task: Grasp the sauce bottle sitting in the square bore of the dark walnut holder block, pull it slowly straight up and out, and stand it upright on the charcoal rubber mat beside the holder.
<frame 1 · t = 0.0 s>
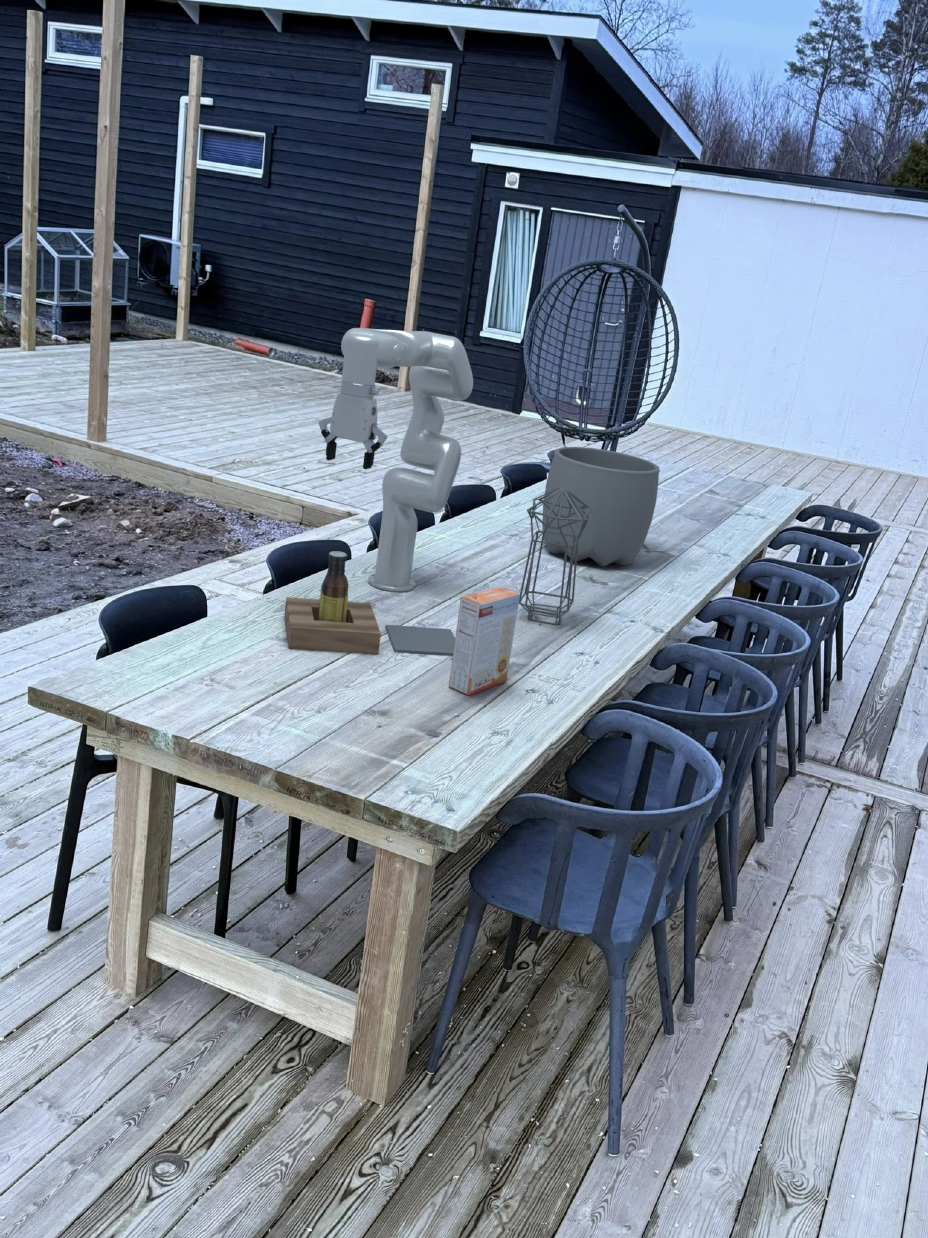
hand: (348, 463, 261), 37 cm above the table, tool pointing down, fingers open, 9 cm apart
cracker box: (476, 685, 245), on the table
sauce bottle: (329, 636, 260), resting in holder block
holder block: (330, 635, 260), on the table
geometric lantern: (540, 618, 294), on the table
rubber mat: (423, 641, 265), on the table
planter pot: (588, 556, 360), on the table
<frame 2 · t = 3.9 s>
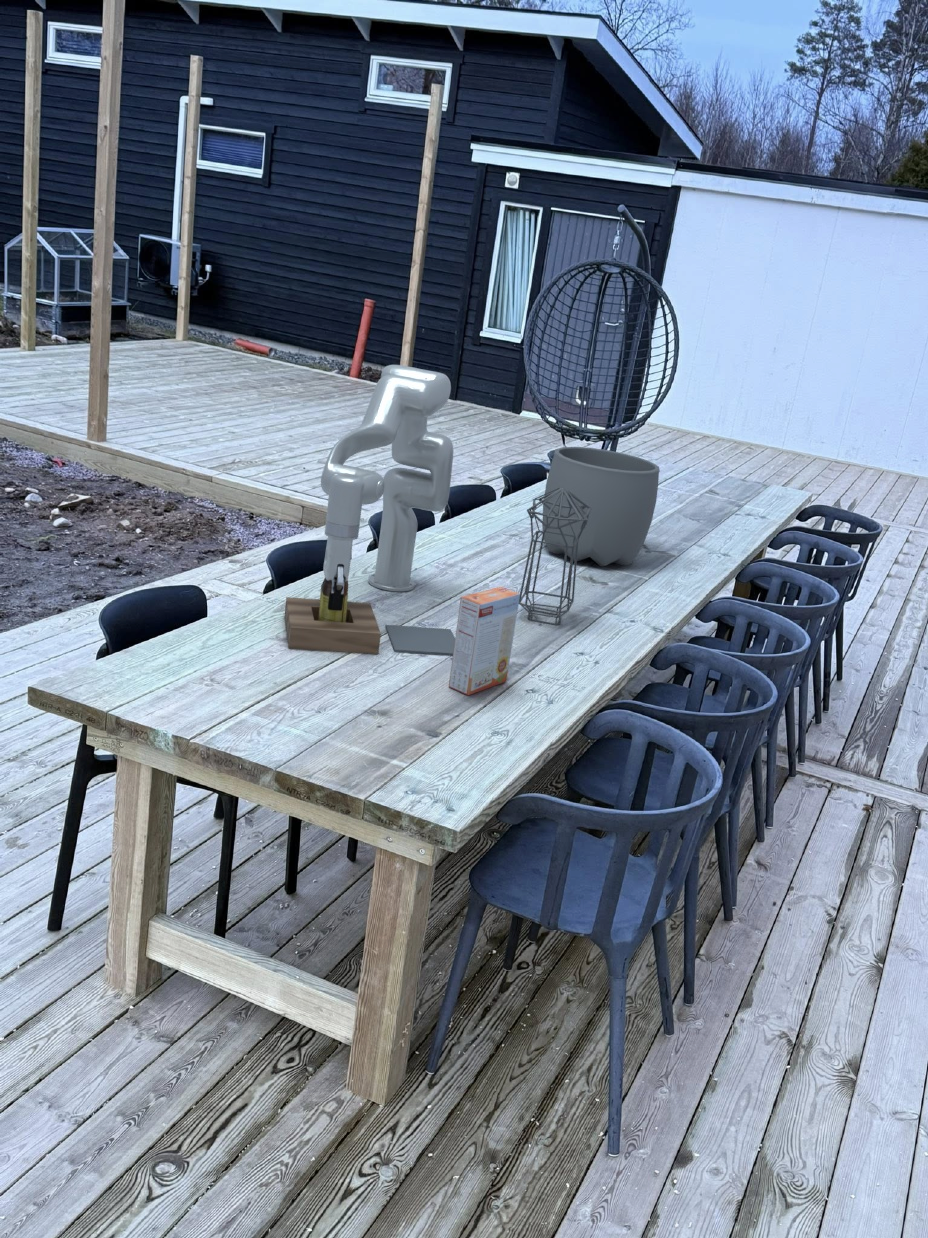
hand: (333, 603, 257), 8 cm above the table, tool pointing down, fingers closed on sauce bottle, 6 cm apart
sauce bottle: (329, 635, 260), resting in holder block, touching gripper
everything else where it was.
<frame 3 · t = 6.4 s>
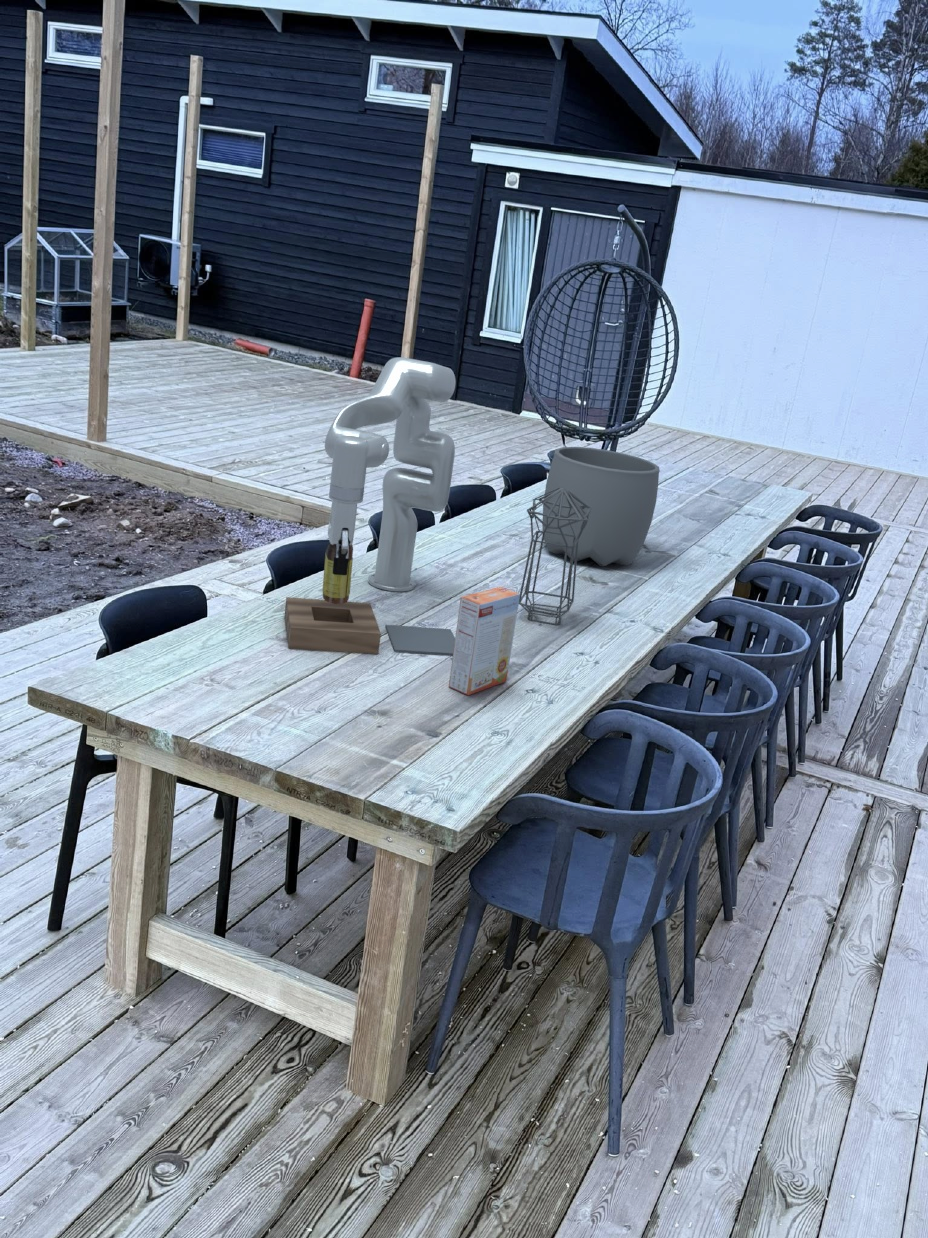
hand: (338, 568, 255), 16 cm above the table, tool pointing down, fingers closed on sauce bottle, 6 cm apart
sauce bottle: (334, 601, 258), point 8 cm above the table, touching gripper
everything else where it was.
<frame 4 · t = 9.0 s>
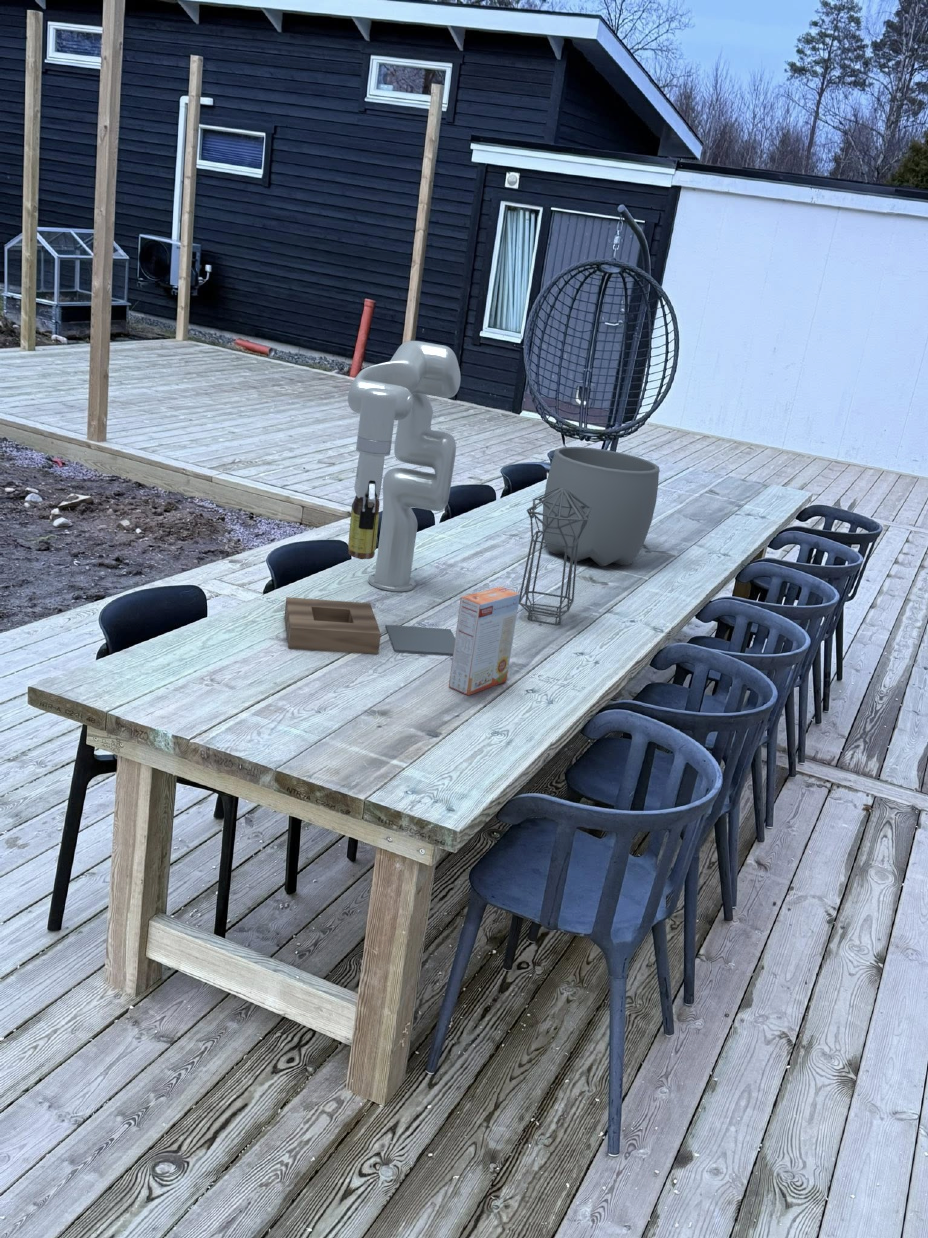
hand: (364, 523, 252), 27 cm above the table, tool pointing down, fingers closed on sauce bottle, 6 cm apart
sauce bottle: (360, 556, 255), point 19 cm above the table, touching gripper
everything else where it was.
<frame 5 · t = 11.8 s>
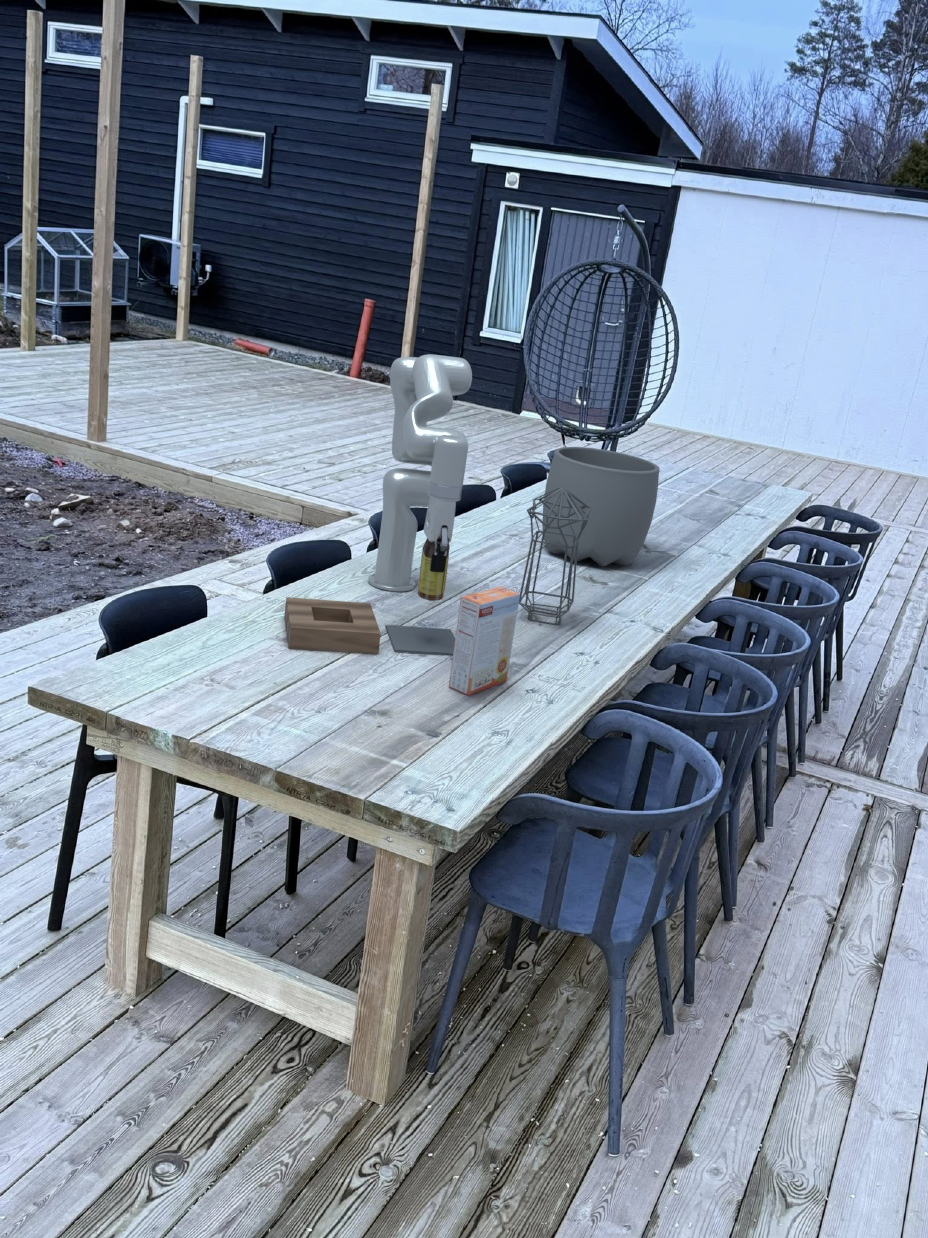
hand: (434, 566, 259), 19 cm above the table, tool pointing down, fingers closed on sauce bottle, 6 cm apart
sauce bottle: (429, 598, 261), point 11 cm above the table, touching gripper
everything else where it was.
when the fingers open (9 cm above the table, at t = 14.4 s): sauce bottle drops 1 cm, resting on rubber mat.
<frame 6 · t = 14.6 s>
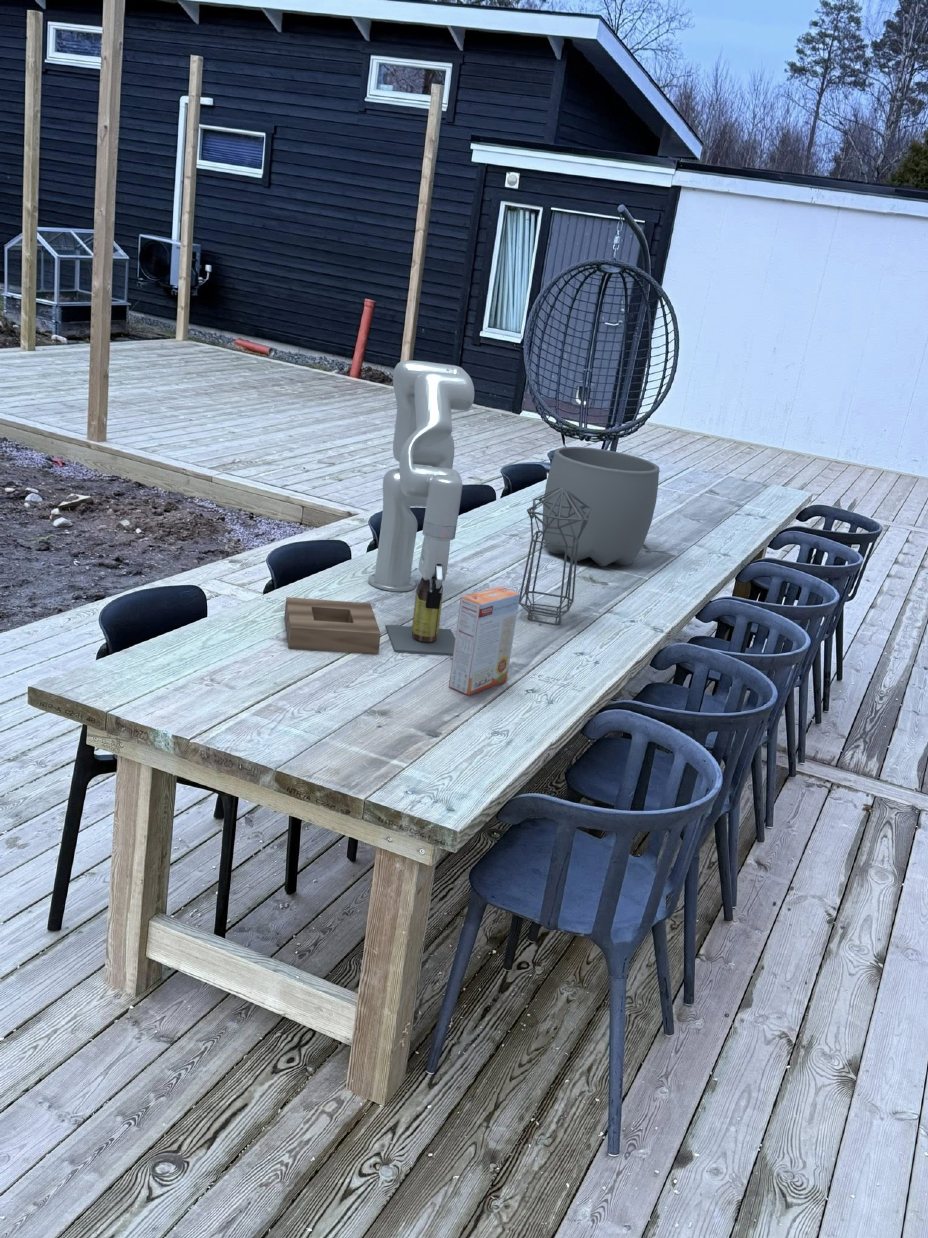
hand: (429, 601, 262), 10 cm above the table, tool pointing down, fingers open, 8 cm apart
sauce bottle: (423, 639, 265), resting on rubber mat
everything else where it was.
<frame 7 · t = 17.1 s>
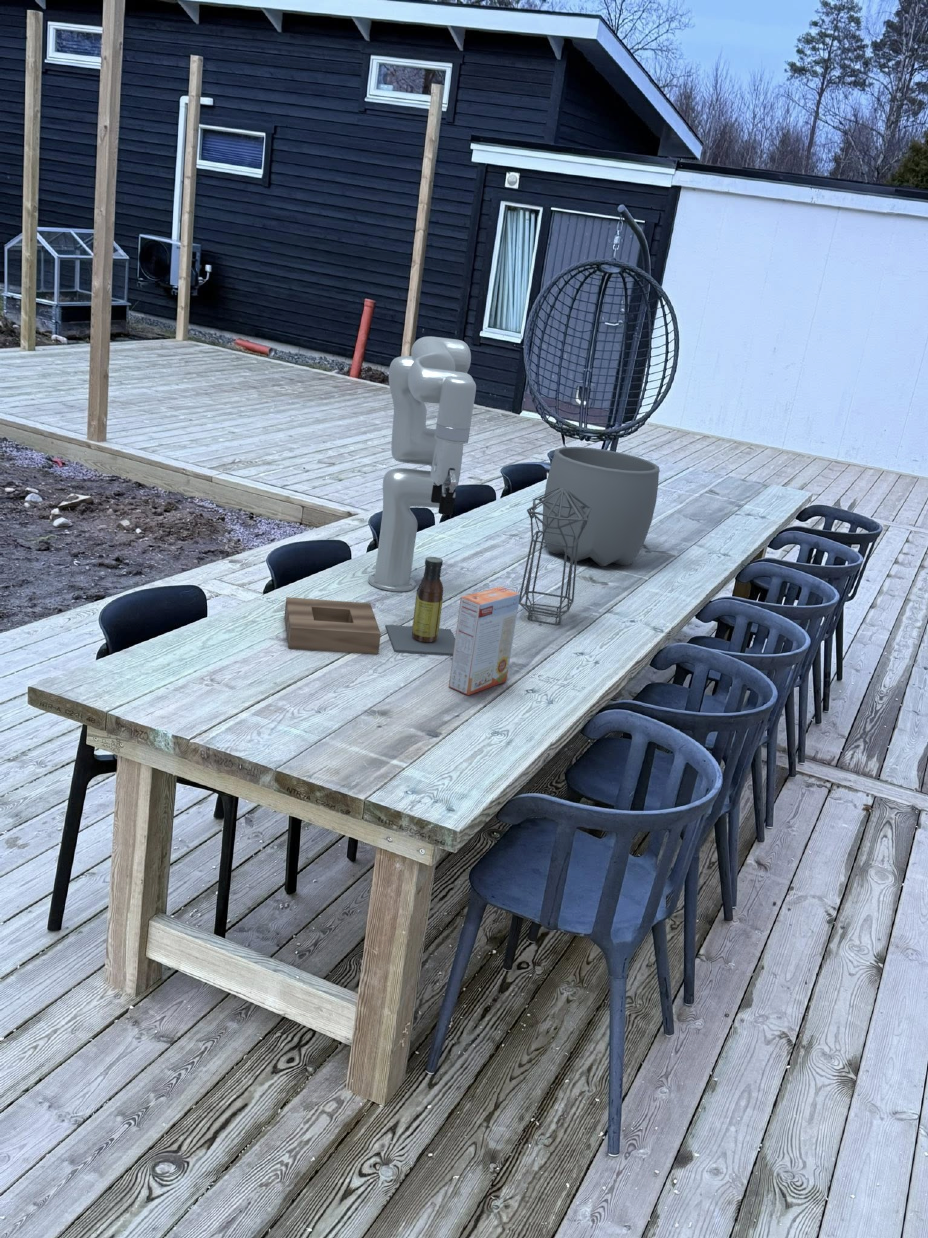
hand: (441, 508, 255), 32 cm above the table, tool pointing down, fingers open, 9 cm apart
nothing on the table moved.
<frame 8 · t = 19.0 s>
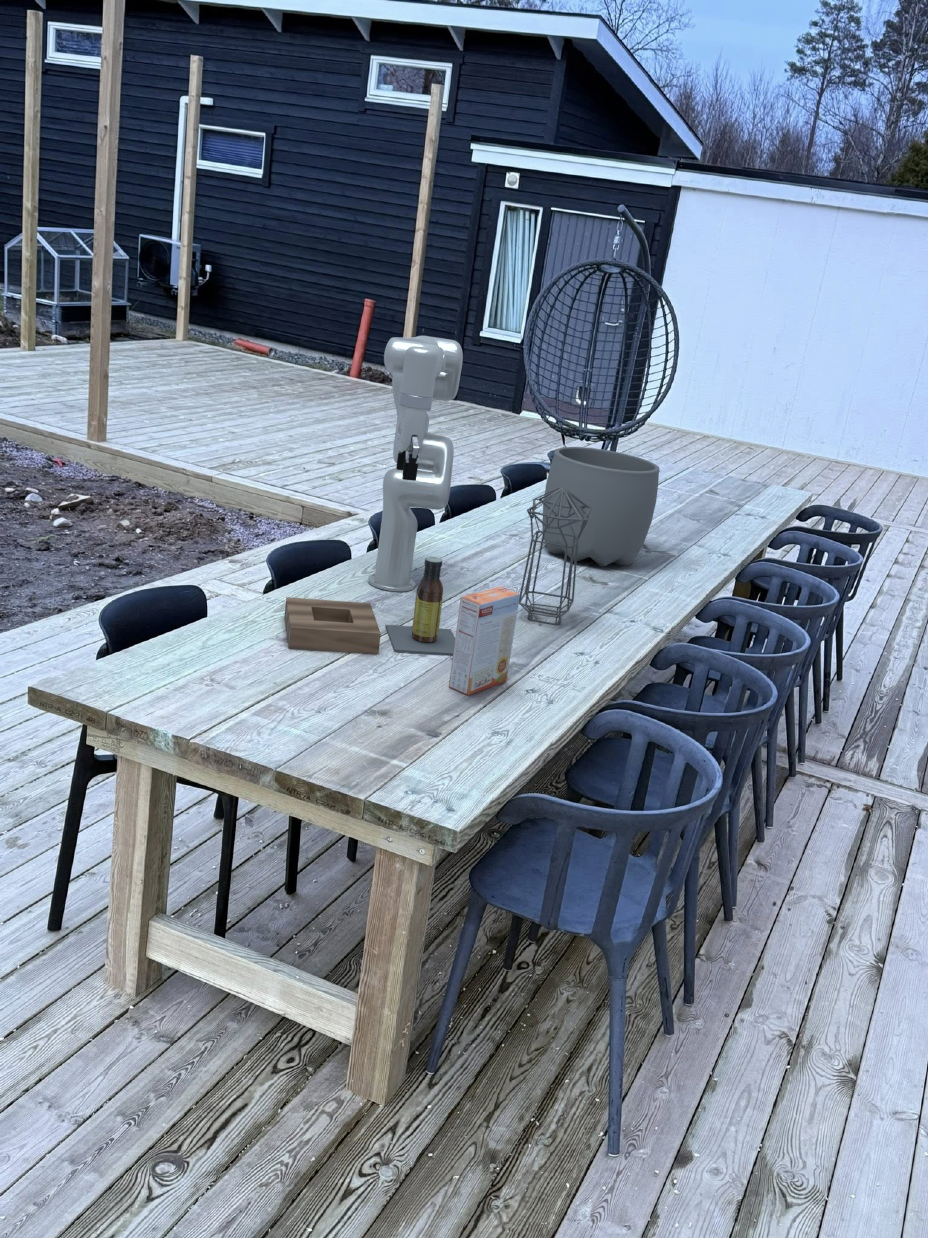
hand: (405, 474, 263), 36 cm above the table, tool pointing down, fingers open, 9 cm apart
nothing on the table moved.
at the end: sauce bottle inside the target area on the rubber mat (0.0 cm from its centre), point 0.4 cm above the rubber mat's base; sauce bottle tilted 0°; the gripper is holding nothing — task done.
